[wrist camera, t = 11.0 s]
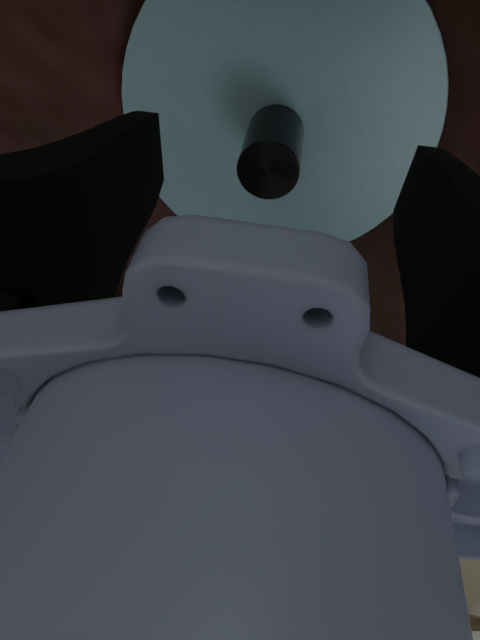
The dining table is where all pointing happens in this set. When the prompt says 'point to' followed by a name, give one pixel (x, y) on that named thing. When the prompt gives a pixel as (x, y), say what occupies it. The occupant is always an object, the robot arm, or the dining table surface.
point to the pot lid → (288, 105)
